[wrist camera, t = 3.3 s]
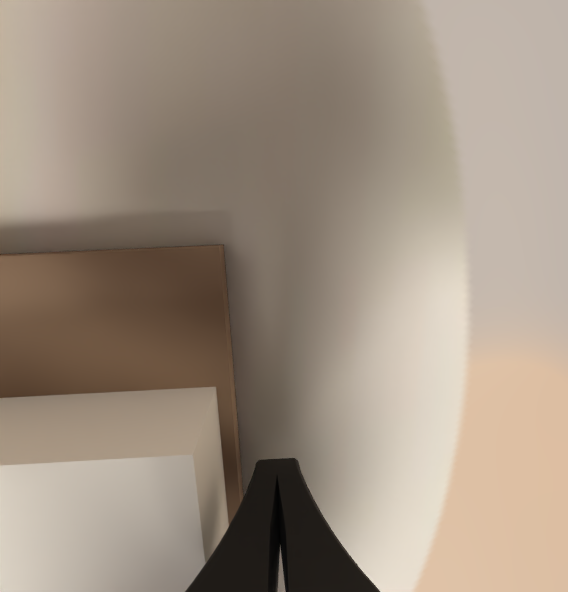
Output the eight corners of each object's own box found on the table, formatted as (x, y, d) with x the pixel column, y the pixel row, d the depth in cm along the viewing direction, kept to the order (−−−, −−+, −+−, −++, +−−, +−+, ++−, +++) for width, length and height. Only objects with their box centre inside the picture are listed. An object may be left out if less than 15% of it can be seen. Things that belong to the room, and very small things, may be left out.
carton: (230, 541, 13) (215, 655, 10) (-8, 555, 13) (-109, 678, 10) (215, 386, 12) (192, 455, 8) (-52, 400, 12) (-188, 477, 8)
